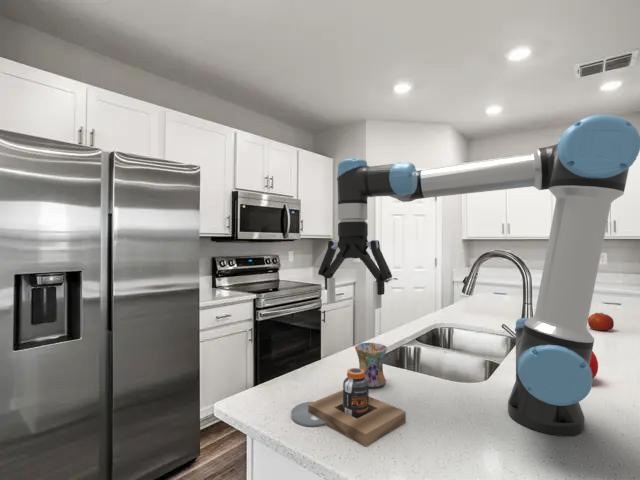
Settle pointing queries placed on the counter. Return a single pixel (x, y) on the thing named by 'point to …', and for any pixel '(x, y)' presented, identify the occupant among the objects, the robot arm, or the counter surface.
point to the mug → (372, 362)
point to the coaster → (306, 416)
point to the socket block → (362, 428)
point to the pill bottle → (355, 393)
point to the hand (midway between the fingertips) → (353, 305)
